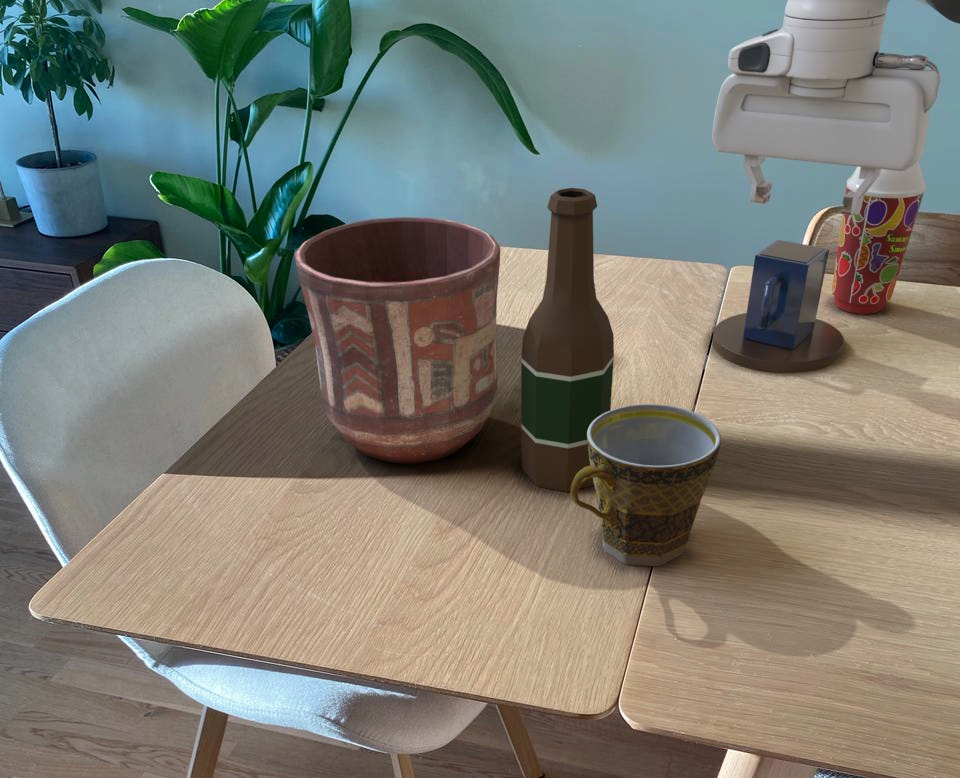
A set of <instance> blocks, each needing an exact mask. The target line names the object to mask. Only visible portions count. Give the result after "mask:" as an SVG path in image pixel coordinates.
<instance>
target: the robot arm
mask: <svg viewBox="0 0 960 778" xmlns="http://www.w3.org/2000/svg"><path fill="white" fill-rule="evenodd" d="M890 1H891V0H787V1H786V5H785V7H784V8H785V9H784V13H783V21H782V26H781V28H780V29H778V28H776V29H772V30H769V31H767V32H764V33H763V34H762V35H760V36H756V37H753V38H750V39H747V40H745V41H743V42H741V43H738V45H735V46H734V47H732V48H731V49H730V50H729V53H728V58H727V67H728V68H727V69H728V70H729V72H731V73H732V74H729V75H728V76H727V77H726V78H725V79H724V81H723V82H722V84H721V87H720V89H719V92H718V95H717V100H716V105H715V109H714V116H713V123H712V130H711V141H712V143H713V146H714V147H715V149H716V151H717V152H719V153H725V154H734V155H744V159H743V168H744V171H745V174H746V176H747V179H748V181H749V184H750V185H751V189H750V190H751V192H750V203H753V204H764V205H765V204H766V203H768V202H769V201H770V199H771V190H772V186H773V182H772V181H766V180H765V177H764V174H763V171H762V168H761V164H763V163H764V162H765V159H766V158H773V159H781V160H782V159H783V160H791V161H792V160H793V161H802V162H809V163H811V162H812V163H820V164H829V165H830V164H831V165H838V166H839V165H840V166H847V167H848V166H849V167H850V166H851V167H856V168H857V167H861V168H860V174H859V178H860V179H864V178H865V180H864V181H863V183H862V184H861V185H860V187H859V188H858V189H857V191H856V192H851V191H849V192H848V193H847V194H846V195H845V194H844V195H843V198H842V205H843V206H842V207H841V209H840V214H841V215H842V214H847V215H855V216H856V215H857V214H859V213H860V210H861V207H862V202H863V197H864V194H865V193H866V192H867V190H868V189H869V188H870V187H871V185H872V184H873V183H874V182H875V180H876V179H877V178H878V177H879V175H880V171H881V169H886V170H895V171H905V170H907V169H908V168H910V167H911V166H913V165H914V164H915V163H916V162H917V161H918V162H919V161H920V159H921V158H922V156H923V155H924V153H925V150H926V149H925V148H926V144H927V137H928V129H929V120H930V109H931V108H932V107H933V106H934V104H935V103H936V100H937V99H938V95H939V90H940V84H941V78H942V77H941V71H940V69H939V68H938V66H937V64H936V63H934V62H933V61H931V60H929V57H928V56H926V55H922V54H912V55H904V54H899V53H890V52H888V53H887V52H880V47H881V42H882V38H883V37H882V36H883V32H884V26H885V20H886V15H887V10H888V5H889V2H890ZM915 1H916V2H918V3H921V4H922V5H926V6H928V7H930V8H932V9H933V10H934V11H936V12H937V13H939V14H940V15H941V16H943V17H944V18H946V19H947V20H948V21H950V22H953V23H955V24H958V25H960V0H915ZM927 67H928V68H930V69H926V68H927Z"/></svg>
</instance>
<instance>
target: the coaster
mask: <svg viewBox="0 0 960 778" xmlns="http://www.w3.org/2000/svg"><path fill="white" fill-rule="evenodd" d="M746 314H747V312H744V313H739V314H735V315H732V316H729V317H727V318H725V319H723V320H721V321H720V322H719V323H718V324H717V325H715V327H714V329H713V333H712V347H713V349H714V351H715V352H716V353H717V354H718V355H719V356H720V357H722V358H723V359H724V360H727V361H728V362H731V363H733V364H735V365H737V366H741V367H744V368H748V369H751V370H757V371H761V372H769V373H781V374H783V373H785V374H789V373H791V374H793V373H794V374H795V373H805V372H812V371H816V370H820V369H823V368H826V367H828V366H831V365H833V364H834V363H836V361H838V360H839V359H840V357H841V356H842V354H843V348H844V344H845V339H844V336H843V333H842V332H841V331H840V330H838V328H836V327H835V326H834V325H832V324H830V323H828V322H826V321H824V320H821V319H818V318H816V320H815V325H814V330H813V332H812V333H811V334H810V335H809V336H808V337H806V338H805V339H804V340H803V341H802V342H801V343H800V344H799V345H798V346H796V347H795V348H794V349H793V350H792V349H788V348H784V347H779V346H775V345H771V344H766V343H762V342H758V341H753V340H749V339H745V338H743V334H744V327H745V321H746Z"/></svg>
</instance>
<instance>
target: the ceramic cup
mask: <svg viewBox="0 0 960 778" xmlns="http://www.w3.org/2000/svg"><path fill="white" fill-rule="evenodd" d="M587 443H588V452H589V460H590V465H591V466H587V467H584V468H583V469H582V470H580V471H579V472H578V473H577V474H576V476H575V478H574V480H573V483H572V486H571V491H570V493H569V494H570V497H571V500H572V502H573V503H574V504H575V505H577V506H578V507H580V508H582V509H585V510H588V511H590V512H592V514H593V515H595V516H596V517H598V518H599V520H600V529H601V537H602V547H603V549H604V552H605V553H607V554H608V555H610V556H611V557H612V558H614V559H616V560H618V562H620V563H621V564H624V565H629V566H643V567H644V566H645V567H660V566H662V565H663V564H666V563H668V562H670V561H672V560H674V559H676V558H677V557H679V556H681V555H682V554H683V553H684V552H685V549H686V545H687V543H688V540H689V538H690V534H691V531H692V528H693V526H694V523H695V519H696V517H697V513H698V511H699V508H700V505H701V500H702V499H703V496H704V494H705V492H706V489H707V487H708V485H709V482H710V479H711V476H712V474H713V471H714V468H715V465H716V461H717V458H718V455H719V452H720V447H721V444H722V436H721V433H720V430H719V429H718V427H717V426H716V425H715V424H714V423H713V422H712V421H711V420H709V419H708V418H707V417H705V416H703V415H701V414H699V413H697V412H695V411H692V410H690V409H686V408H682V407H679V406H674V405H668V404H667V405H665V404H656V403H655V404H653V403H644V404H643V403H641V404H631V405H626V406H621V407H617V408H614V409H610V411H608V412H606V413H604V414H602V415H600V416H599V417H597V418H596V419H595V420H594V421H593V422H592V423H591V424H590V426H589V428H588V431H587ZM592 477H593V481H594V485H593V486H594V490H595V493H596V498H597V499H596V500H597V501H596V502H597V506H598V508H597V507H595V506H594V505H592V504H589V503H587V502H584V501H582V500H580V499H579V494H578V493H579V491H580V489H579V488H580V486H581V485H582V484H583V483H584V482H585V481H586V480H588V479H590V478H592Z"/></svg>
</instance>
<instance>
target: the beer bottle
mask: <svg viewBox="0 0 960 778" xmlns="http://www.w3.org/2000/svg"><path fill="white" fill-rule="evenodd" d="M597 207H598V202H597V198H596V194H594V193H592V192H591V191H589V190H588V189H585V188H577V187H569V188H568V187H567V188H561V189H558V190H555V192H553V193H551V195H550V196H549V200H548V203H547V209H548V210H549V211H550V213H551V214H550V225H549V226H550V227H549V238H548V239H549V240H548V251H547V264H546V265H547V266H546V277H545V284H544V290H543V294H542V299H541V301H540V302H539V304H538V306H537V307H536V308H535V310H534V311H533V313H532V314H531V316H530V318H529V319H528V322H527V325H526V328H525V330H524V333H523V336H522V343H521V344H522V345H521V356H520V365H521V366H520V367H521V368H520V373H521V374H520V376H521V378H520V382H521V383H520V390H521V391H520V392H521V393H520V395H521V396H520V397H521V398H520V401H521V402H520V404H521V405H520V409H521V410H520V413H521V414H520V417H521V420H520V421H521V422H520V426H521V427H520V429H521V431H520V432H521V433H520V436H521V437H520V438H521V439H520V443H521V444H520V445H521V449H520V453H521V467H522V470H523V472H524V473H525V474H526V476H527V477H528V478H529V479H530V480H531V482H533V483H534V485H535V486H536V487H539V488H543V489H549V490H553V491H560V492H565V493H568V492H571V486H572V483H573V480H574V478H575V476H576V474H577V473H578V472H579V471H580V470H582V469H583V468H584V467H587V466H591V465H590V460H589V452H588V443H587V431H588V428H589V426H590V424H591V423H592V422H593V421H594V420H595V419H596V418H597V417H599V416H600V415H602V414H604V413H606V412H608V411H611V410H612V409H611V407H612V391H613V376H614V375H613V374H614V361H615V347H614V346H615V344H614V341H615V339H614V332H613V329H612V324H611V322H610V318H609V316H608V314H607V313H606V311H605V310H604V308H603V306H602V304H601V303H600V301H599V300H598V298H597V293H596V285H595V274H594V273H595V271H594V269H595V265H594V263H595V261H594V259H595V257H594V210H596V209H597ZM592 486H594V481H593V477H592V478H590V479H588V480H586V481H585V482H584V483H583V484H582V485H581V486H580V488H579V490H580V489H584V488H588V487H592Z"/></svg>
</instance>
